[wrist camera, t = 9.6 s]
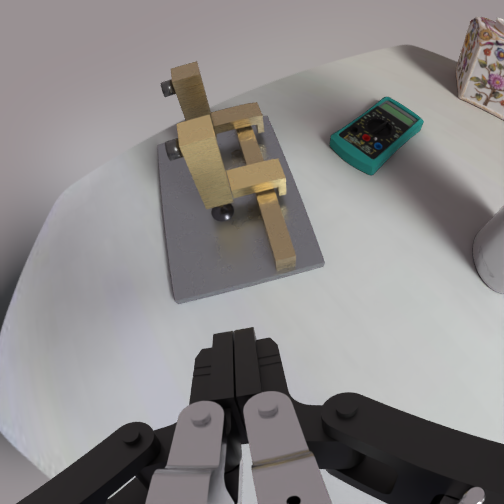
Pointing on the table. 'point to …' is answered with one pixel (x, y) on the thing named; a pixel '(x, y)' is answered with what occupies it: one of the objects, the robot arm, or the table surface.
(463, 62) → the decorative jar
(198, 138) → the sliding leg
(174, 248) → the flange plate
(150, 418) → the table surface
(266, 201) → the tan block assembly
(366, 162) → the digital multimeter
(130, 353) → the table surface
